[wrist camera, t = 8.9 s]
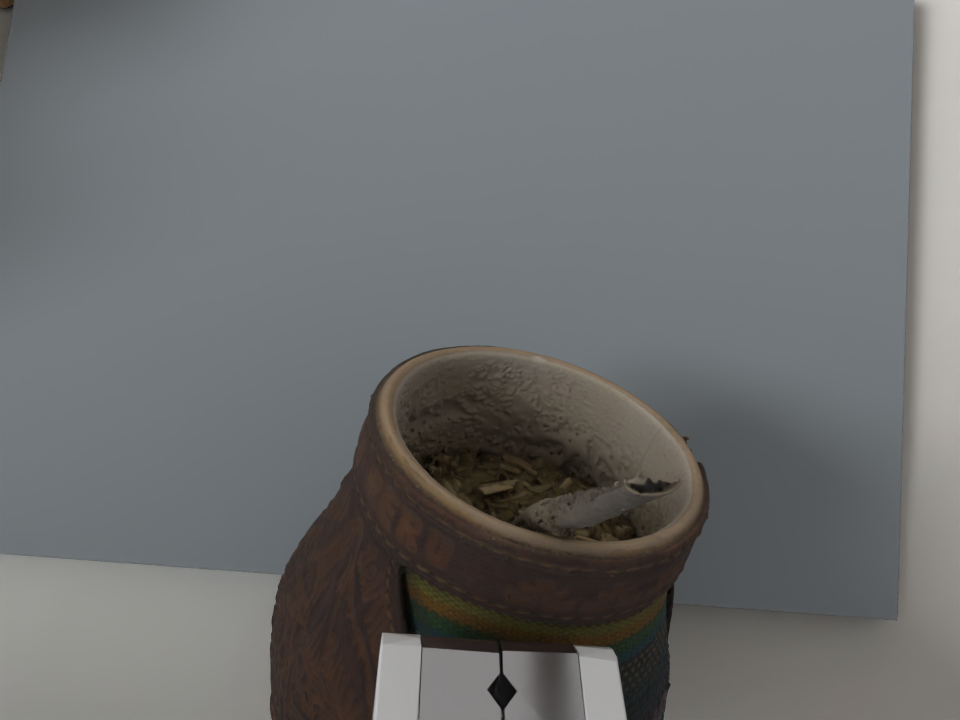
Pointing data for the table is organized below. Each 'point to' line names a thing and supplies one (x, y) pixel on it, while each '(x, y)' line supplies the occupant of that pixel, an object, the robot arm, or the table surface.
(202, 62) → the mat
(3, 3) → the lion figurine
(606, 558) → the mate gourd
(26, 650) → the table surface
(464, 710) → the robot arm
